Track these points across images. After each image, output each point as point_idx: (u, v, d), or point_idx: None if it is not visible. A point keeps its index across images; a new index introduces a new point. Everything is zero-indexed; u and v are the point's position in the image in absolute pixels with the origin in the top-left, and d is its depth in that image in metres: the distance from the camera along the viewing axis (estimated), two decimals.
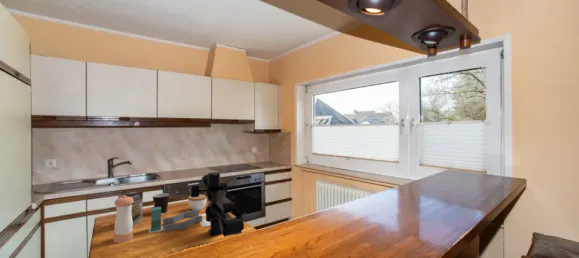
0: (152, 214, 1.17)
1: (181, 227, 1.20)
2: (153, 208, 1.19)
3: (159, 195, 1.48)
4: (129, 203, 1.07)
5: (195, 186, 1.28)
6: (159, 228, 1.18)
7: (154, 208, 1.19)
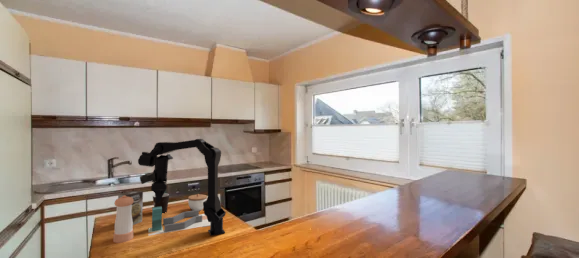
0: (153, 214, 1.17)
1: (181, 227, 1.20)
2: (154, 208, 1.19)
3: None
4: (129, 203, 1.07)
5: (153, 183, 1.13)
6: (160, 228, 1.18)
7: (155, 208, 1.19)
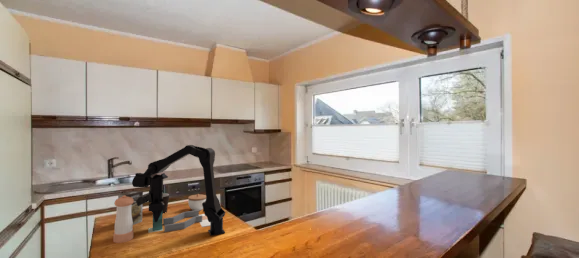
0: None
1: (181, 227, 1.20)
2: None
3: None
4: (129, 203, 1.07)
5: (150, 204, 1.12)
6: (160, 227, 1.19)
7: None
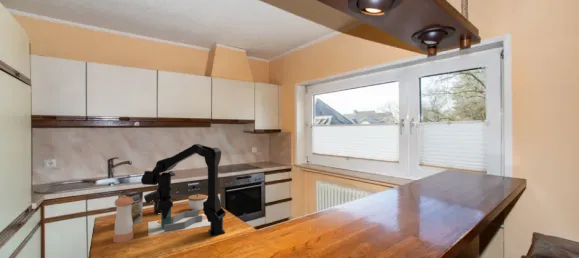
0: None
1: (181, 227, 1.20)
2: None
3: None
4: (129, 203, 1.07)
5: (159, 202, 1.13)
6: None
7: None
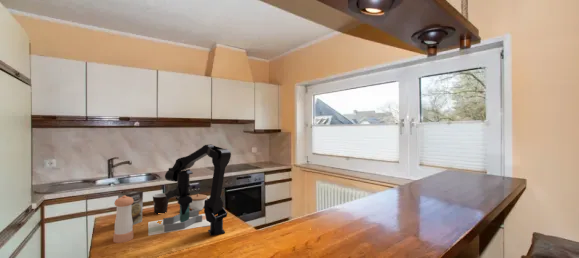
0: None
1: (181, 227, 1.20)
2: None
3: (159, 195, 1.48)
4: (129, 203, 1.07)
5: (179, 198, 1.20)
6: None
7: None
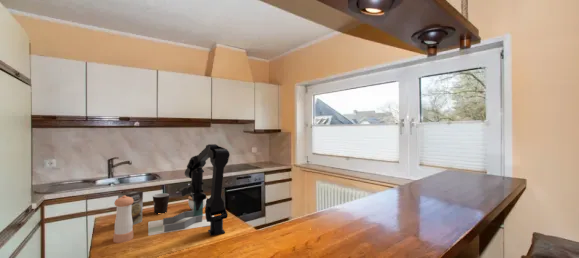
0: None
1: (181, 227, 1.20)
2: None
3: (159, 195, 1.48)
4: (129, 203, 1.07)
5: (194, 194, 1.26)
6: None
7: None
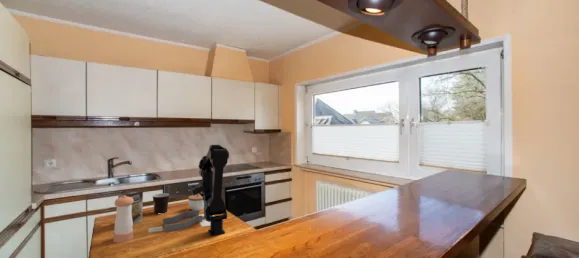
0: None
1: (181, 227, 1.20)
2: None
3: (159, 195, 1.48)
4: (129, 203, 1.07)
5: (205, 194, 1.29)
6: (211, 216, 1.36)
7: None
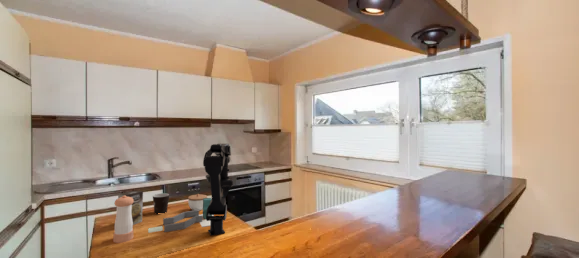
0: (205, 204, 1.34)
1: (181, 227, 1.20)
2: (205, 199, 1.36)
3: (159, 195, 1.48)
4: (129, 203, 1.07)
5: (221, 181, 1.25)
6: None
7: (206, 199, 1.36)
